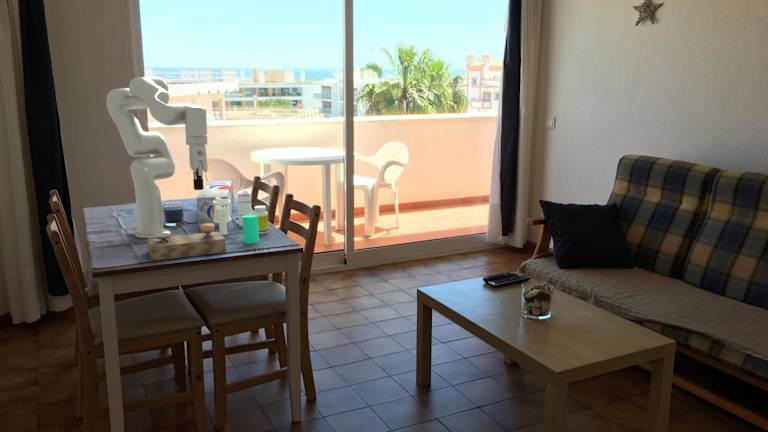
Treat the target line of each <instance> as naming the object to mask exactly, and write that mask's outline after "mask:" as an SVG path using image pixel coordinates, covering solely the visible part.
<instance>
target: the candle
mask: <svg viewBox="0 0 768 432" xmlns="http://www.w3.org/2000/svg"><path fill="white" fill-rule="evenodd" d="M242 219H243V226H242V233H243V235H242V236H243V237H242V240H243V243H244V244H248V245H249V244H250V245H251V244H258V243H259V242H260V234H259V228H258V216H257V215H253V213H252V214H247V215H243V217H242Z"/></svg>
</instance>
